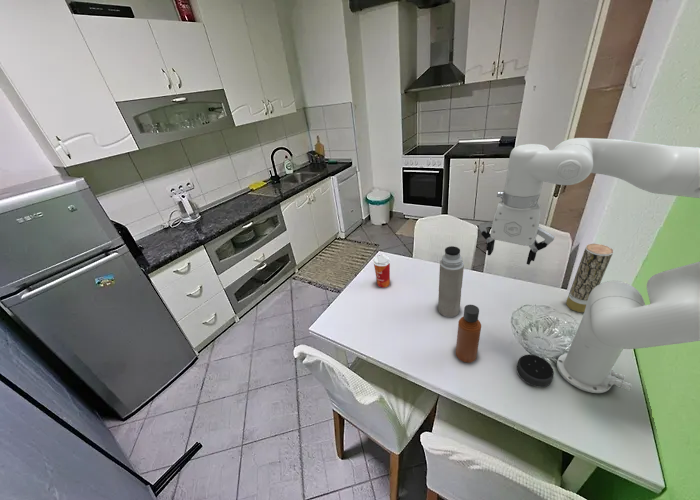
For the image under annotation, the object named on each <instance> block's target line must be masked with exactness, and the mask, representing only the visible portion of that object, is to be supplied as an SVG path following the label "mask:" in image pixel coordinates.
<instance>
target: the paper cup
mask: <svg viewBox="0 0 700 500" xmlns="http://www.w3.org/2000/svg"><path fill="white" fill-rule="evenodd" d="M372 264H373V266H374V272H375V279H376V285H377V286H378V287H379V288H382V289H385V288H388V287H389V286H390V284H391V283H390V282H391V259H390V257H389V256H388V255H386V254H378V255H376V256H374V257H373V260H372Z"/></svg>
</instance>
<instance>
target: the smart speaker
mask: <svg viewBox="0 0 700 500" xmlns="http://www.w3.org/2000/svg"><path fill="white" fill-rule="evenodd" d="M516 371H517V374H518V376H519V378H521V379H522V381H523V382H525V383H527V384H529V385H530V386H533V387H536V388H537V387H538V388H544V387H548V386H549V385H551V383H552V382H553V379H554V375H555V371H554V368H553V366H552V365H551V364H550V363H549V361H547V360H546V359H544V358H543V357H541V356H538V355H536V354H524V355H522V356H520V357H519V358H518V360H517V364H516Z"/></svg>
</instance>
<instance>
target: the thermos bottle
mask: <svg viewBox="0 0 700 500" xmlns="http://www.w3.org/2000/svg"><path fill="white" fill-rule="evenodd" d="M464 268H465V263H464V261H463V257H462V255H461V249H460V248H459V247H457V246H453V245H449V246H447V247H445V249H444V254H443V255H442V256H441V260H440V261H439V273H438V275H439V277H438V298H437V311H438V313H439V314H440V315H442V316H443V317H446V318H454V317H457V316H458V315H459V314H460V309H461V300H462V298H461V297H462V288H463V278H464V270H465V269H464Z"/></svg>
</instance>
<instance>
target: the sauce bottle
mask: <svg viewBox="0 0 700 500" xmlns="http://www.w3.org/2000/svg"><path fill="white" fill-rule="evenodd" d="M481 331H482V324H481V320H480V319H478V320H477V321H476V322H473V323H471V322H468V321H466V320H465V319H464V317H463V316H462V317H460V318H459V319H458V324H457V331H456V332H457V333H456V343H455V356H456V357H457V359H458V361H461V362H463V363H469V364H470V363H474V362H475V361H476V360H477V356H478V351H479V346H480V345H479V344H480V338H481V333H482V332H481Z"/></svg>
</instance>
